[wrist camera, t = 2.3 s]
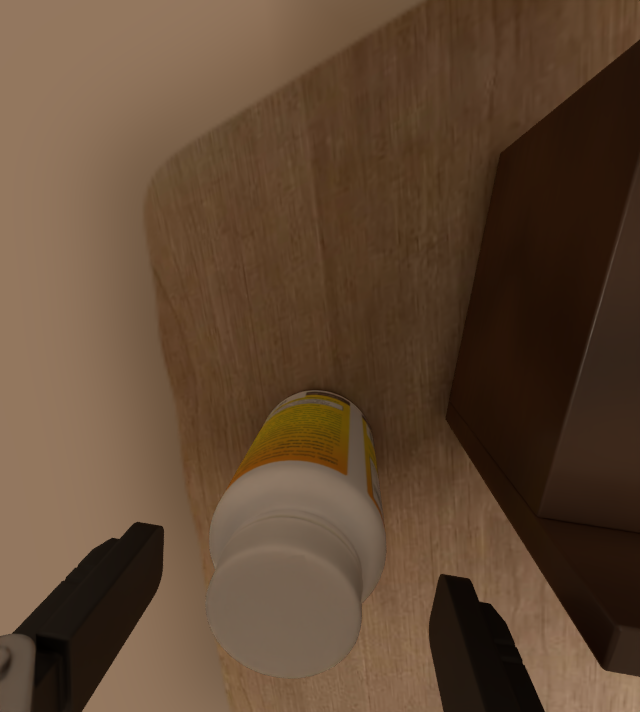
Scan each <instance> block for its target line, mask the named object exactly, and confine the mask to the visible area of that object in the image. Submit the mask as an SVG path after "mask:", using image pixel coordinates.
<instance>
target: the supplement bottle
mask: <svg viewBox="0 0 640 712" xmlns="http://www.w3.org/2000/svg"><path fill="white" fill-rule="evenodd" d="M209 547H210V554H211V559H212V562H213V565H214V568H215V572H214V574H213V576H212V579H211V581H210V584H209V587H208V590H207V595H206V615H207V619H208V623H209V626H210V628H211V631H212V633H213V635H214V636H215V638H216V640H217V641H218V643H219V644H220V645H221V646H222V647H223V649H224V650H225V651H226V652H227V653H228V654H229V655H230V656H231V657H233V658H234V659H235V660H237V661H238V662H239V663H241V664H242V665H244V666H246V667H247V668H249V669H251V670H254V671H256V672H259V673H261V674H264V675H268V676H272V677H278V678H288V679H295V678H305V677H310V676H314V675H317V674H320V673H323V672H325V671H327V670H329V669H331V668H332V667H334V666H336V665H337V664H338V663H339V662H341V661H342V660H343V659H344V658H345V657H346V656H347V655H348V654H349V652H350V651H351V649H352V648H353V646H354V645H355V643H356V640H357V638H358V635H359V632H360V627H361V619H362V603H363V602H364V601H365V600H366V599H367V598H368V596H369V595H370V594H371V593H372V591H373V590H374V588H375V587H376V585H377V583H378V581H379V579H380V577H381V574H382V571H383V568H384V564H385V558H386V534H385V526H384V518H383V511H382V502H381V494H380V486H379V478H378V471H377V462H376V455H375V448H374V441H373V435H372V431H371V428H370V426H369V423H368V421H367V419H366V418H365V416H364V415H363V413H362V412H361V411H360V410H359V409H358V408H357V407H356V406H355V405H354V404H353V403H352V402H350V401H349V400H347V399H346V398H344V397H342V396H340V395H337V394H334V393H332V392H327V391H320V390H311V391H304V392H300V393H297V394H294V395H292V396H290V397H288V398H286V399H285V400H283V401H282V402H281V403H279V404H278V405H277V406H276V407H275V408H274V409H273V411H272V412H271V413H270V415H269V416H268V418H267V419H266V421H265V423H264V425H263V426H262V428H261V430H260V431H259V433H258V435H257V437H256V438H255V440H254V442H253V444H252V445H251V447H250V449H249V450H248V452H247V454H246V456H245V457H244V459H243V461H242V463H241V464H240V466H239V468H238V470H237V471H236V473H235V475H234V477H233V478H232V480H231V482H230V484H229V486H228V487H227V489H226V491H225V492H224V494H223V496H222V498H221V499H220V501H219V503H218V505H217V508H216V510H215V512H214V515H213V518H212V521H211V526H210V534H209Z"/></svg>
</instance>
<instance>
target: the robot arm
mask: <svg viewBox="0 0 640 712" xmlns="http://www.w3.org/2000/svg"><path fill="white" fill-rule="evenodd" d="M163 545H164V529H163V527H162V526H159V525H153V524H147V523H140V522H136V523H134V524H133V525H132V526H131V527H130V528H129V529H128V530H127V531H126V533H125V534H124V535H123V536H122V537H121V538H120V539H116V538H111V539H109V540H107V541H106V542H104V543H103V544H101V545H100V546H98V547H96V548H94V549H93V550H92V551H91V552H90V553H89V554H88V555H87V556H86V557H85V558H84V559H83V560H82V561H81V562H80V563H79V565H78V567H77V568H75V569H74V570H73V571H72V572H71V573H70V574H69V575H68V576H67V577H66V579H65V581H62V582H61V583H60V584H59V585H58V586H57V587H56V588H55V589H54V590H53V591H52V593H51V594H50V595H49V596H48V597H47V598H46V599H45V600H44V601H43V602H42V603H41V604H40V605H39V606H38V607H37V608H36V609H35V610H34V611H33V612H32V614H31V615H30V616H29V617H28V618H27V619H26V620H25V621H24V622H23V623H22V624H21V625H20V626H19V627H18V628H17V629H16V630H15V631H14V632H13V633H12V634H8V635H3V636H0V712H82V710H83V709H84V707H85V705H86V704H87V702H88V701H89V699H90V698H91V696H92V694H93V693H94V691H95V690H96V688H97V686H98V685H99V683H100V682H101V680H102V678H103V677H104V675H105V674H106V672H107V670H108V669H109V667H110V666H111V664H112V662H113V661H114V659H115V658H116V656H117V654H118V653H119V651H120V650H121V648H122V646H123V645H124V643H125V642H126V640H127V638H128V637H129V635H130V634H131V632H132V630H133V629H134V627H135V626H136V624H137V622H138V621H139V619H140V618H141V616H142V615H143V613H144V611H145V610H146V608H147V607H148V605H149V603H150V602H151V600H152V598H153V597H154V595H155V593H156V591H157V589H158V587H159V584H160V580H161V577H162V571H163ZM429 641H430V648H431V652H432V657H433V662H434V667H435V672H436V677H437V682H438V686H439V691H440V696H441V701H442V706H443V711H444V712H545V711H544V709H543V706H542V704H541V702H540V699H539V697H538V695H537V693H536V690H535V688H534V686H533V684H532V681H531V679H530V677H529V674H528V672H527V670H526V668H525V665H523V663H522V658H521V656H520V654H519V652H518V649H517V647H515V642H514V640H513V638H512V636H511V633H510V631H509V629H508V626H507V624H506V622H505V621H504V620H503V619H502V617H501V616H500V615H499V614H498V613H497V611H496V610H495V609H494V608H493V606H492V605H491V604H489V603H483V602H479V600H478V597H477V595H476V592H475V589H474V587H473V584H472V582H471V580H470V579H468V578H463V577H457V576H451V575H445V574H441V575H440V577H439V580H438V584H437V588H436V593H435V597H434V602H433V606H432V611H431V615H430V621H429Z"/></svg>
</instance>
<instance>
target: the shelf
mask: <svg viewBox="0 0 640 712" xmlns="http://www.w3.org/2000/svg"><path fill="white" fill-rule="evenodd" d="M449 400H450V402H449V404H448V409H447V414H446V421H447V423H448V424H449V426H450V427H451V429H452V431H453V432H454V434H455V435H456V437H457V439H458V440H459V442H460V443H461V445H462V446H463V448H464V450H465V451H466V453H467V454H468V456H469V458H470V459H471V461H472V462H473V464H474V466H475V467H476V469H477V470H478V472H479V474H480V475H481V477H482V478H483V480H484V482H485V483H486V485H487V486H488V488H489V489H490V491H491V493H492V494H493V496H494V497H495V499H496V501H497V502H498V504H499V505H500V507H501V509H502V510H503V512H504V513H505V515H506V517H507V518H508V520H509V521H510V523H511V524H512V526H513V528H514V529H515V531H516V532H517V534H518V536H519V537H520V539H521V540H522V542H523V544H524V545H525V547H526V548H527V550H528V552H529V553H530V555H531V556H532V558H533V559H534V561H535V563H536V564H537V566H538V567H539V569H540V571H541V572H542V574H543V575H544V577H545V579H546V580H547V582H548V583H549V585H550V587H551V588H552V590H553V591H554V593H555V594H556V596H557V598H558V599H559V601H560V602H561V604H562V606H563V607H564V609H565V610H566V612H567V614H568V615H569V617H570V618H571V620H572V622H573V623H574V625H575V626H576V628H577V629H578V631H579V633H580V634H581V636H582V637H583V639H584V641H585V642H586V644H587V645H588V647H589V649H590V650H591V652H592V653H593V655H594V657H595V658H596V660H597V661H598V663H599V664H600V666H601V667H602V668H603V669H604V670H606V671H611V672H616V673H622V674H628V675H633V676H639V677H640V40H639V41H637V42H636V43H635V44H634V45H632V46H631V47H630V48H629V49H628V50H626V51H625V52H624V53H623V54H621V55H620V56H619V57H618V58H617V59H615V60H614V61H613V62H612V63H610V64H609V65H608V66H607V67H606V68H604V69H603V70H602V71H601V72H599V73H598V74H597V75H596V76H595V77H593V78H592V79H591V80H590V81H588V82H587V83H586V84H585V85H583V86H582V87H581V88H580V89H579V90H577V91H576V92H575V93H574V94H572V95H571V96H570V97H569V98H568V99H566V100H565V101H564V102H563V103H561V104H560V105H559V106H558V107H557V108H555V109H554V110H553V111H552V112H550V113H549V114H548V115H547V116H546V117H544V118H543V119H542V120H541V121H539V122H538V123H537V124H536V125H535V126H533V127H532V128H531V129H530V130H528V131H527V132H526V133H525V134H523V135H522V136H521V137H520V138H519V139H517V140H516V141H515V142H514V143H512V144H511V145H510V146H509V147H508V148H506V149H505V150H504V151H503V152H501V154H500V159H499V164H498V169H497V173H496V178H495V183H494V188H493V193H492V197H491V202H490V207H489V212H488V217H487V221H486V226H485V231H484V236H483V241H482V245H481V250H480V255H479V260H478V265H477V269H476V274H475V279H474V284H473V289H472V293H471V298H470V303H469V308H468V313H467V317H466V322H465V327H464V332H463V337H462V341H461V346H460V351H459V356H458V361H457V365H456V370H455V375H454V380H453V385H452V389H451V394H450V399H449Z"/></svg>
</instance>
